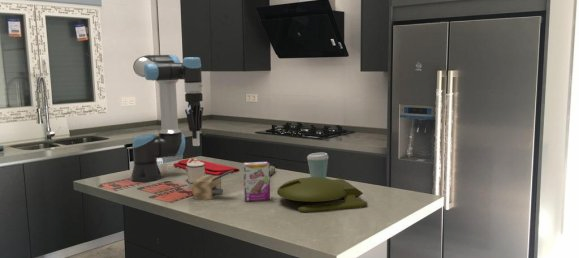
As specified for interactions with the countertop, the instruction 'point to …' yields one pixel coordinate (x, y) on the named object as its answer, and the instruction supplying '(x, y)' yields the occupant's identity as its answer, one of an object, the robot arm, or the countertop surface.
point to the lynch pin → (214, 191)
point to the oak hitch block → (206, 187)
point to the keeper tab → (222, 175)
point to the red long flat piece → (208, 167)
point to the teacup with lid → (195, 170)
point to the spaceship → (321, 193)
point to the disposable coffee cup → (318, 164)
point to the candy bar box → (256, 181)
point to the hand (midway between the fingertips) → (196, 145)
